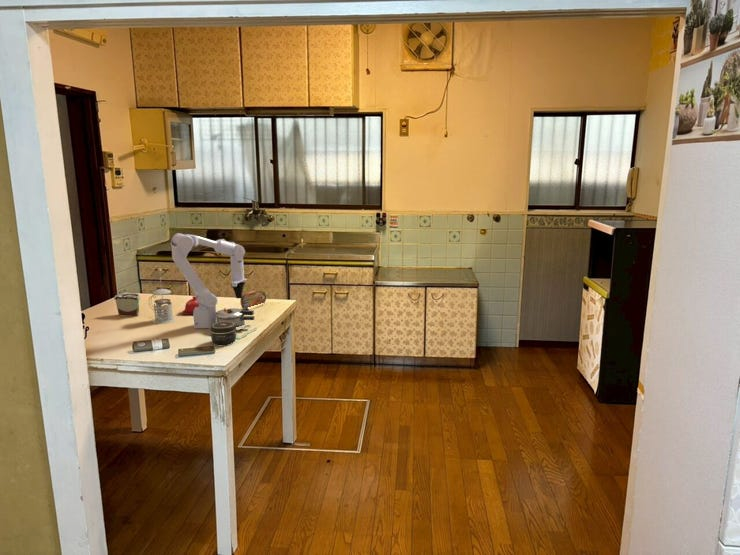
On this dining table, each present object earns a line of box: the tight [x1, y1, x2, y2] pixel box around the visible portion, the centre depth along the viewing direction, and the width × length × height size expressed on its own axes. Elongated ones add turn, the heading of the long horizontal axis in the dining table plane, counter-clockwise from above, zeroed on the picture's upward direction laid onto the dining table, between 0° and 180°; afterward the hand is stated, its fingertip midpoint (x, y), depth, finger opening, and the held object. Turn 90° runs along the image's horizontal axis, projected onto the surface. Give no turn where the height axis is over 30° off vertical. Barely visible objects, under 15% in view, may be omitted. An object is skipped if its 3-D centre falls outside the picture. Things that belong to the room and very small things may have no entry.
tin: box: [240, 290, 267, 310], centre depth 261 cm, size 15×3×8 cm, turn 143°
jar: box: [210, 321, 237, 347], centre depth 211 cm, size 10×10×8 cm
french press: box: [148, 268, 176, 325], centre depth 237 cm, size 10×12×25 cm
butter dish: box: [181, 295, 199, 315], centre depth 252 cm, size 12×12×8 cm
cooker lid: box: [215, 307, 255, 319], centre depth 228 cm, size 17×13×2 cm
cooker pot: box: [216, 315, 255, 327], centre depth 229 cm, size 16×12×6 cm
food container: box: [113, 292, 141, 317], centre depth 248 cm, size 12×6×10 cm, turn 84°
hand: (239, 298), depth 240 cm, fingers closed
